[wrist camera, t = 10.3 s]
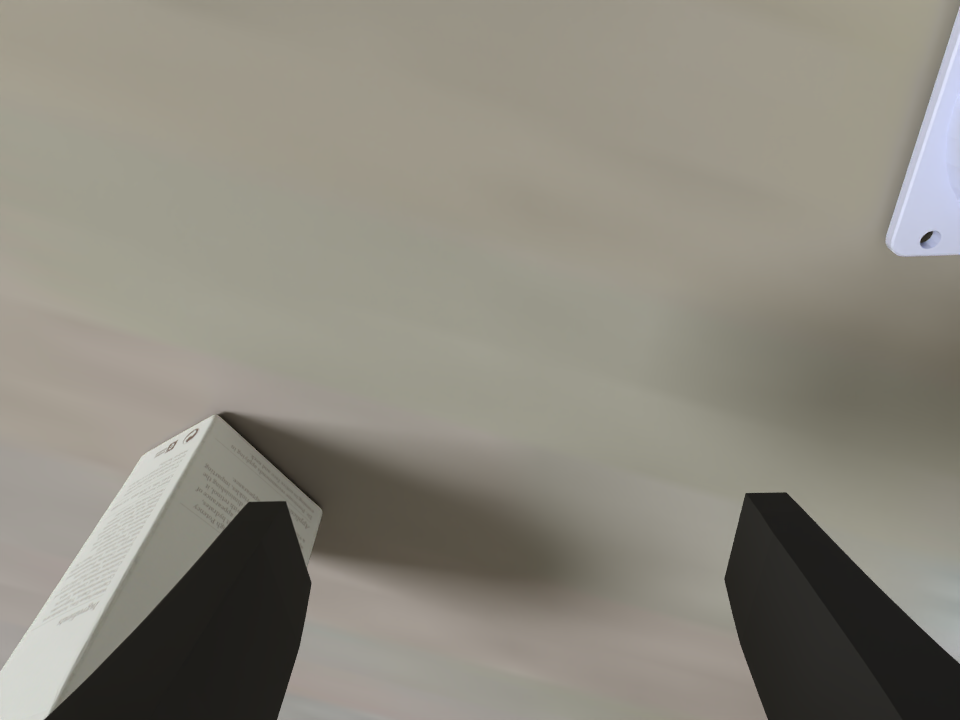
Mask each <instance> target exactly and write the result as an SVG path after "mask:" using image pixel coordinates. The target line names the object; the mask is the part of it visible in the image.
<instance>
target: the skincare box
mask: <svg viewBox="0 0 960 720" xmlns="http://www.w3.org/2000/svg"><path fill="white" fill-rule="evenodd" d="M263 501H286V503H287V506H288V509H289V512H290V516H291V519H292V522H293V525H294V529H295V532H296V535H297V538H298V542H299V545H300V548H301V551H302V554H303V558H304V561H305V564H306V567H307V566H308V562H309V559H310V556H311V552H312V548H313V545H314V542H315V538H316V535H317V532H318V528H319V525H320V521H321V518H322V510H321V508H320V507H319V506H318V505H316V504H315V503H314V502H313V501H312V500H311V499H310V498H309V497H307V496H306V495H305V494H304V493H303V492H302V491H301V490H300V489H299V488H298V487H296V486H295V485H294V484H293V483H292V482H291V481H290V480H289V479H288V478H287V477H286V476H284V475H283V474H282V473H281V472H280V471H279V470H278V469H277V468H276V467H275V466H273V465H272V464H271V463H270V462H269V461H268V460H267V459H266V458H265V457H264V456H263V455H261V454H260V453H259V452H258V451H257V450H256V449H255V448H254V447H253V446H252V445H251V444H249V443H248V442H247V441H246V440H245V439H244V438H243V437H242V436H241V435H240V434H238V433H237V432H236V431H235V430H234V429H233V428H232V427H231V426H230V425H229V424H228V423H226V422H225V421H224V420H223V419H222V418H221V417H220V416H218V415H216V414H215V415H212V416H211V417H209V418H207V419H205V420H203V421H202V422H200V423H198V424H196V425H194V426H192V427H191V428H189V429H187V430H185V431H184V432H182V433H180V434H178V435H177V436H175V437H173V438H171V439H169V440H168V441H166V442H164V443H162V444H161V445H159V446H157V447H156V448H154V449H152V450H150V451H148V452H147V453H146V454H144V455H143V456H142V457H141V458H140V460H139V462H138V463H137V465H136V466H135V468H134V470H133V471H132V473H131V475H130V476H129V477H128V479H127V481H126V482H125V484H124V485H123V487H122V488H121V490H120V491H119V493H118V494H117V496H116V497H115V499H114V500H113V501H112V503H111V505H110V506H109V508H108V509H107V511H106V512H105V513H104V515H103V517H102V518H101V520H100V521H99V523H98V524H97V526H96V528H95V529H94V531H93V532H92V534H91V535H90V537H89V538H88V540H87V541H86V543H85V544H84V546H83V547H82V549H81V550H80V552H79V553H78V555H77V556H76V558H75V559H74V561H73V562H72V564H71V565H70V567H69V568H68V570H67V571H66V573H65V574H64V576H63V577H62V579H61V581H60V582H59V584H58V585H57V587H56V588H55V590H54V591H53V593H52V594H51V596H50V597H49V599H48V600H47V602H46V603H45V605H44V606H43V608H42V609H41V611H40V612H39V614H38V616H37V617H36V619H35V620H34V622H33V623H32V625H31V626H30V628H29V629H28V631H27V632H26V634H25V635H24V637H23V638H22V640H21V641H20V643H19V644H18V646H17V647H16V649H15V650H14V651H13V653H12V655H11V656H10V658H9V659H8V661H7V662H6V664H5V665H4V667H3V669H2V670H1V672H0V720H44V719H45V718H46V717H47V716H48V715H49V714H50V713H51V712H53V711H54V710H55V709H56V708H57V707H58V706H59V705H60V704H61V703H62V702H63V701H64V700H65V699H66V698H67V697H68V696H69V695H70V694H71V693H72V692H74V691H75V690H76V689H77V688H78V687H79V686H80V685H81V684H82V683H83V682H84V681H85V680H86V679H87V678H88V677H89V676H90V675H91V674H92V673H93V672H94V671H95V670H96V669H97V668H98V667H99V666H100V665H101V664H102V663H103V661H104V660H105V659H106V658H107V657H108V656H109V655H110V654H111V653H112V652H113V651H114V650H115V649H116V648H117V647H118V646H119V645H120V644H121V643H122V642H123V641H124V640H125V639H126V638H127V637H128V636H129V635H130V634H131V633H132V632H133V631H134V630H135V629H136V628H137V627H138V625H139V624H140V623H141V622H142V621H143V620H144V619H145V618H146V617H147V616H148V615H149V614H150V612H151V611H152V610H153V609H154V608H155V607H156V606H157V605H158V604H159V603H160V601H161V600H162V599H163V598H164V597H165V596H166V595H167V594H168V593H169V592H170V590H171V589H172V588H173V587H174V586H175V585H176V584H177V583H178V582H179V580H180V579H181V578H182V577H183V576H184V575H185V574H186V573H187V571H188V570H189V569H190V568H191V567H192V566H193V565H194V563H195V562H196V561H197V560H198V559H199V558H200V557H201V555H202V554H203V553H204V552H205V551H206V550H207V549H208V547H209V546H210V545H211V544H212V543H213V542H214V540H215V539H216V538H217V537H218V536H219V535H220V533H221V532H222V531H223V530H224V529H225V528H226V527H227V525H228V524H229V523H230V522H231V521H232V520H233V518H234V517H235V516H236V515H237V514H238V513H239V512H240V511H241V509H242V508H243V507H244V506H245V505H246V504H247V503H248V502H263Z"/></svg>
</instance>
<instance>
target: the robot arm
mask: <svg viewBox="0 0 960 720" xmlns="http://www.w3.org/2000/svg"><path fill="white" fill-rule="evenodd" d="M930 231H933V234H932V236H931V238H930V239H928V240H927V241H925V242H922V243H920V240H921V238H922V237H923V235H925V234H926V233H928V232H930ZM886 245H887V247H888V248H889V249H890V250H891V251H892V252H894V253H895V254H897V255H898V256H904V257H907V256H942V255H960V8H959V11H958V14H957V17H956V20H955V23H954V26H953V29H952V33H951V36H950V39H949V42H948V45H947V48H946V51H945V54H944V57H943V61H942V64H941V67H940V70H939V73H938V76H937V79H936V82H935V86H934V89H933V92H932V95H931V98H930V101H929V104H928V107H927V110H926V114H925V117H924V120H923V123H922V126H921V129H920V132H919V135H918V138H917V142H916V145H915V148H914V151H913V154H912V157H911V160H910V163H909V167H908V170H907V173H906V176H905V179H904V182H903V185H902V188H901V191H900V195H899V198H898V201H897V204H896V207H895V210H894V213H893V216H892V219H891V223H890V226H889V229H888V232H887V235H886ZM724 580H725V584H726V588H727V592H728V597H729V601H730V605H731V609H732V614H733V618H734V622H735V625H736V629H737V633H738V637H739V641H740V645H741V647H742V650H743V653H744V656H745V659H746V661H747V664H748V667H749V670H750V672H751V675H752V678H753V680H754V683H755V686H756V689H757V691H758V694H759V697H760V699H761V702H762V705H763V707H764V710H765V713H766V715H767V718H768V720H960V664H959V663H958V662H957V661H956V660H955V659H954V658H953V657H952V656H950V655H949V654H948V653H947V652H946V651H945V650H944V649H943V648H942V647H941V646H939V645H938V644H937V643H936V642H935V641H934V640H933V639H932V638H931V637H930V636H929V635H928V634H927V633H926V632H925V631H923V630H922V629H921V628H920V627H919V626H918V625H917V624H916V623H915V622H914V621H913V620H912V619H911V618H910V617H909V616H908V615H907V614H906V613H905V612H904V611H903V610H902V609H901V608H900V607H899V606H898V605H897V604H895V603H894V602H893V601H892V600H891V599H890V598H889V597H888V596H887V595H886V594H885V593H884V592H883V591H882V590H881V589H880V588H879V587H878V586H877V585H876V584H875V583H874V582H873V581H872V580H871V579H870V578H869V577H868V576H867V575H866V574H865V573H864V572H863V571H862V570H861V569H860V568H859V567H858V566H857V565H856V564H855V563H854V562H853V561H852V560H851V559H850V558H849V557H848V556H847V555H846V554H845V553H844V551H843V550H842V549H841V548H840V547H839V546H838V545H837V544H836V543H835V542H834V541H833V540H832V539H831V538H830V537H829V536H828V535H827V534H826V533H825V532H824V531H823V530H822V529H821V528H820V527H819V526H818V525H817V523H816V522H815V521H814V520H813V519H812V518H811V517H810V516H809V515H808V514H807V513H806V512H805V511H804V510H803V509H802V508H801V507H800V506H799V505H798V504H797V503H796V502H795V501H794V500H793V499H792V498H791V497H790V496H789V495H788V494H787V493H746V494H745V498H744V502H743V506H742V510H741V514H740V518H739V522H738V526H737V530H736V534H735V538H734V542H733V546H732V551H731V555H730V559H729V563H728V567H727V571H726V575H725V579H724ZM310 589H311V580H310V577H309V574H308V571H307V567H306V564H305V561H304V558H303V554H302V551H301V548H300V545H299V542H298V538H297V535H296V532H295V529H294V525H293V522H292V519H291V516H290V512H289V509H288V506H287V503H286V501H263V502H248V503H247V504H246V505H245V506H244V507H243V508H242V509H241V511H240V512H239V513H238V514H237V515H236V516H235V517H234V518H233V520H232V521H231V522H230V523H229V524H228V525H227V527H226V528H225V529H224V530H223V531H222V532H221V533H220V535H219V536H218V537H217V538H216V539H215V540H214V542H213V543H212V544H211V545H210V546H209V547H208V549H207V550H206V551H205V552H204V553H203V554H202V555H201V557H200V558H199V559H198V560H197V561H196V562H195V563H194V565H193V566H192V567H191V568H190V569H189V570H188V571H187V573H186V574H185V575H184V576H183V577H182V578H181V579H180V580H179V582H178V583H177V584H176V585H175V586H174V587H173V588H172V589H171V590H170V592H169V593H168V594H167V595H166V596H165V597H164V598H163V599H162V600H161V601H160V603H159V604H158V605H157V606H156V607H155V608H154V609H153V610H152V611H151V612H150V614H149V615H148V616H147V617H146V618H145V619H144V620H143V621H142V622H141V623H140V624H139V625H138V627H137V628H136V629H135V630H134V631H133V632H132V633H131V634H130V635H129V636H128V637H127V638H126V639H125V640H124V641H123V642H122V643H121V644H120V645H119V646H118V647H117V648H116V649H115V650H114V651H113V652H112V653H111V654H110V655H109V656H108V657H107V658H106V659H105V660H104V661H103V663H102V664H101V665H100V666H99V667H98V668H97V669H96V670H95V671H94V672H93V673H92V674H91V675H90V676H89V677H88V678H87V679H86V680H85V681H84V682H83V683H82V684H81V685H80V686H79V687H78V688H77V689H76V690H75V691H74V692H72V693H71V694H70V695H69V696H68V697H67V698H66V699H65V700H64V701H63V702H62V703H61V704H60V705H59V706H58V707H57V708H56V709H55V710H54V711H53V712H51V713H50V714H49V715H48V716H47V717H46V718H45V719H44V720H277V718H278V714H279V711H280V708H281V705H282V702H283V699H284V695H285V692H286V689H287V686H288V682H289V679H290V676H291V673H292V670H293V666H294V663H295V660H296V656H297V653H298V650H299V646H300V641H301V637H302V632H303V627H304V622H305V617H306V611H307V606H308V600H309V594H310Z"/></svg>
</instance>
